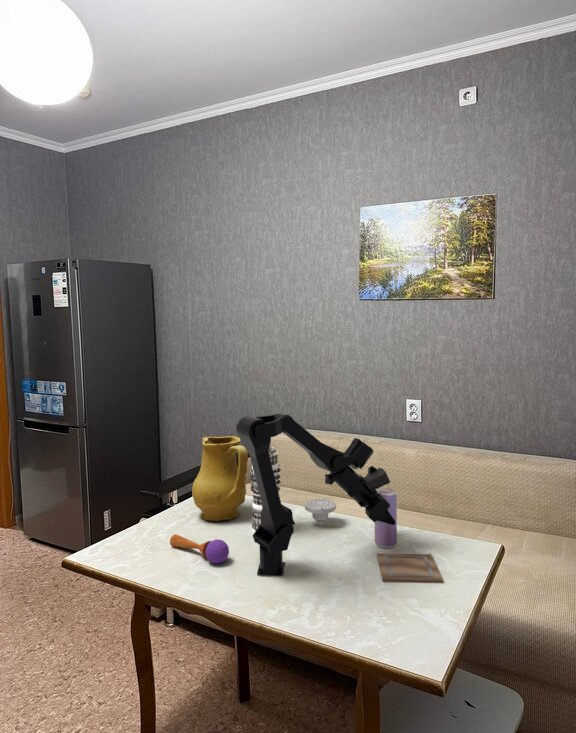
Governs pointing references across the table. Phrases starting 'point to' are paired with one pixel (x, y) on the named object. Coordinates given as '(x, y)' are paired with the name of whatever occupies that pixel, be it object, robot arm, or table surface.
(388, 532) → the beverage can
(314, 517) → the showerhead
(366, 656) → the table surface
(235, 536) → the table surface
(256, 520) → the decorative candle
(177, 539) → the purple ball maraca
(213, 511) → the pitcher
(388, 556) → the plate
